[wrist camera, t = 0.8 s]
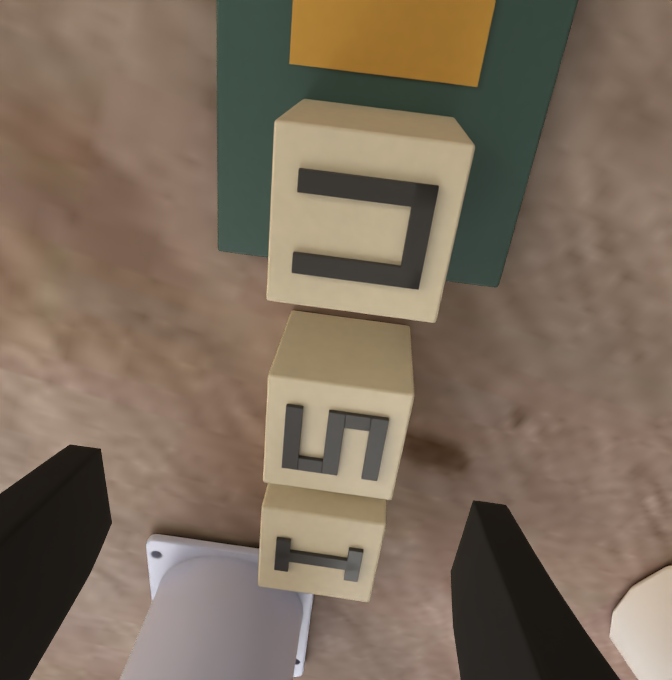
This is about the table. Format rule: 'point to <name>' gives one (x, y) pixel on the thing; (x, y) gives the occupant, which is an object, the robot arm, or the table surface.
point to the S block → (338, 405)
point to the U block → (365, 208)
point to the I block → (320, 541)
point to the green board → (390, 97)
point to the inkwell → (646, 627)
